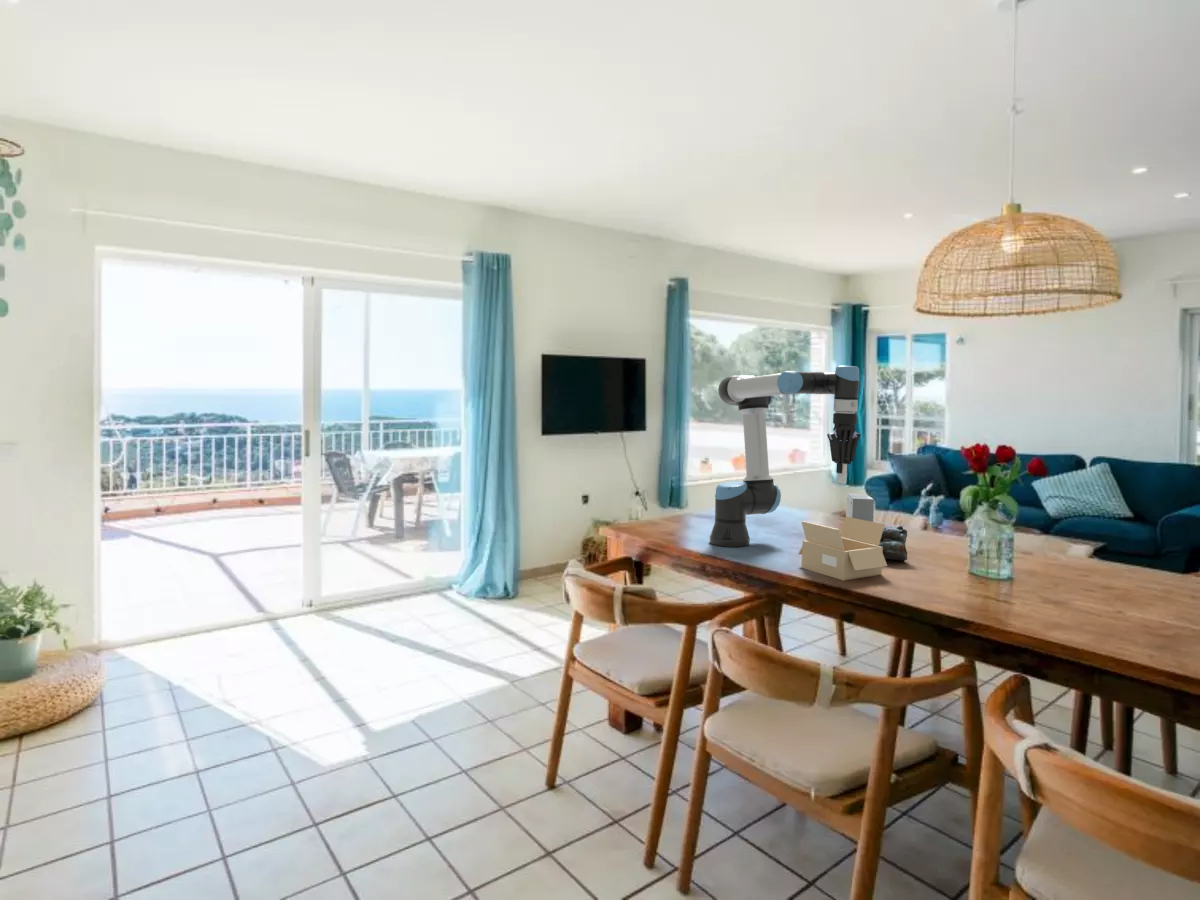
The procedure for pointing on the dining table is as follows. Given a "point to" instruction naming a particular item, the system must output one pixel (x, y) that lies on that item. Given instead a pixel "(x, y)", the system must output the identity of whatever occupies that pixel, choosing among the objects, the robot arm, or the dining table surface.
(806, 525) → the flap
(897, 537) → the dark grey backpack
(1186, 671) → the dining table surface
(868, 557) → the carton
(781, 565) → the dining table surface
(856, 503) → the hard drive box
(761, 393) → the robot arm
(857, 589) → the dining table surface
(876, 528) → the flap
